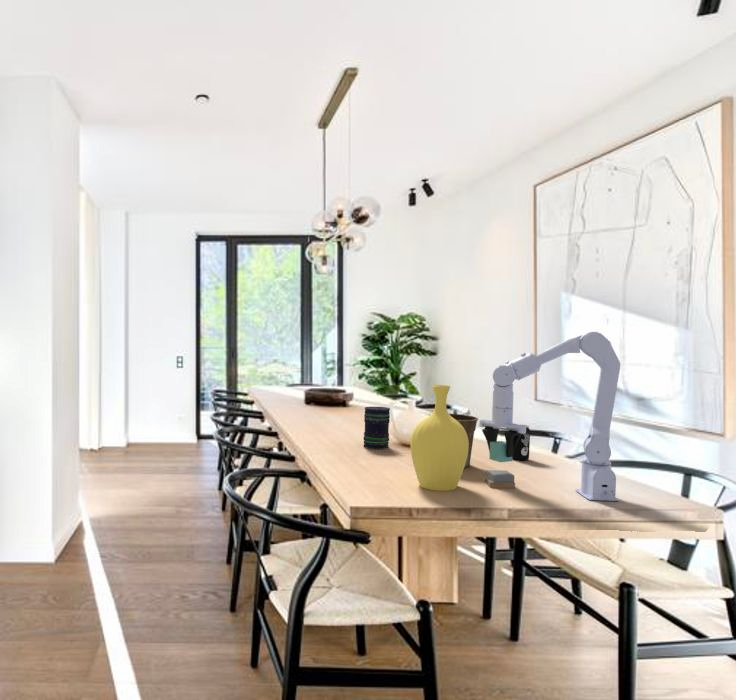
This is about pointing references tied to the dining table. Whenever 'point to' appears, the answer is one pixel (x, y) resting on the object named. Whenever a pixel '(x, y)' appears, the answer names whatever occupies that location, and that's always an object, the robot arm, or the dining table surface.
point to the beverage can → (522, 446)
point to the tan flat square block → (499, 484)
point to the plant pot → (467, 430)
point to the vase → (439, 447)
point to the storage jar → (376, 427)
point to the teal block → (499, 451)
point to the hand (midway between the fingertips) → (501, 455)
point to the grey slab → (500, 476)
